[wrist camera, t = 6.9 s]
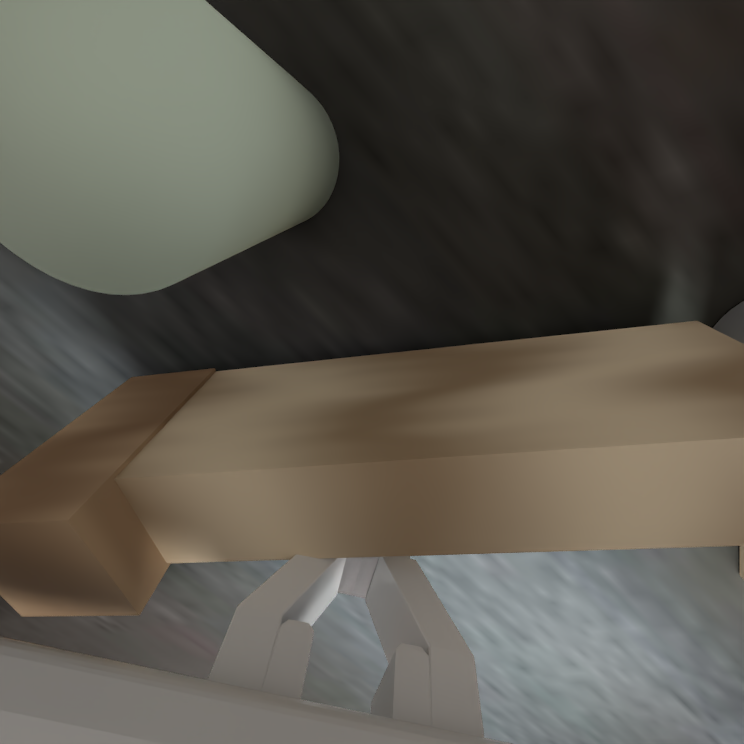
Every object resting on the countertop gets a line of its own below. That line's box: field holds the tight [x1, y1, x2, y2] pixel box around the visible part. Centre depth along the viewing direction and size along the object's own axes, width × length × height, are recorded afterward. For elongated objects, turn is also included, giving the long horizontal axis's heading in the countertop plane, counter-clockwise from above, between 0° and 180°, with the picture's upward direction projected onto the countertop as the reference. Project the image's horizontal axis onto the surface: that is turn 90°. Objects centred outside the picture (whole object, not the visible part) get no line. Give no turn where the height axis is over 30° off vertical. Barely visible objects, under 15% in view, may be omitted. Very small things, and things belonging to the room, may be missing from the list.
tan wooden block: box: [0, 321, 744, 617], centre depth 8 cm, size 15×3×5 cm, turn 99°
